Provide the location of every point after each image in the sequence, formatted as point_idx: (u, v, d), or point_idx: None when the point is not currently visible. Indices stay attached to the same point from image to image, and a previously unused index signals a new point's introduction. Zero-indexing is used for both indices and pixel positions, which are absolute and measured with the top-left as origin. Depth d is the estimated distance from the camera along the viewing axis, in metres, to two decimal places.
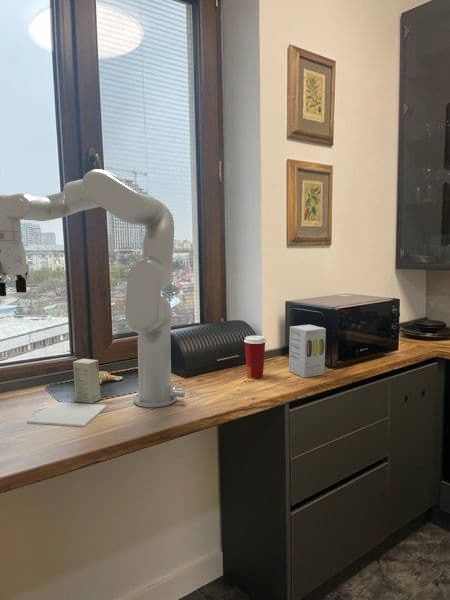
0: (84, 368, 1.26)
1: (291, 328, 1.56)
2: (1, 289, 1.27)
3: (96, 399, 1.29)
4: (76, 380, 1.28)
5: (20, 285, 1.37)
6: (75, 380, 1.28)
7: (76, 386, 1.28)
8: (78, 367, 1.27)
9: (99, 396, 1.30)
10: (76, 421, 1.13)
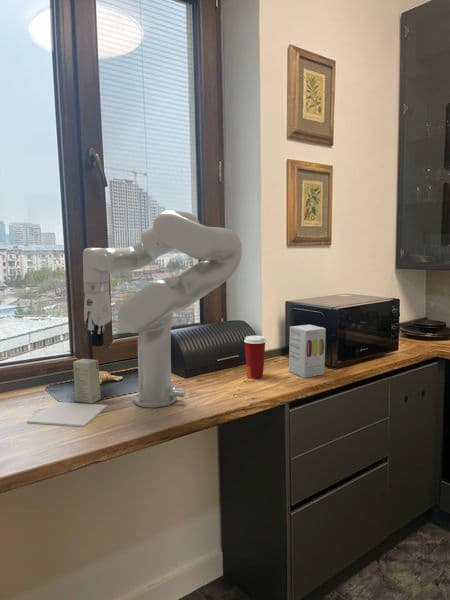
0: (84, 368, 1.26)
1: (291, 328, 1.56)
2: (98, 340, 1.36)
3: (96, 399, 1.29)
4: (76, 380, 1.28)
5: None
6: (75, 380, 1.28)
7: (76, 386, 1.28)
8: (78, 367, 1.27)
9: (99, 396, 1.30)
10: (76, 421, 1.13)
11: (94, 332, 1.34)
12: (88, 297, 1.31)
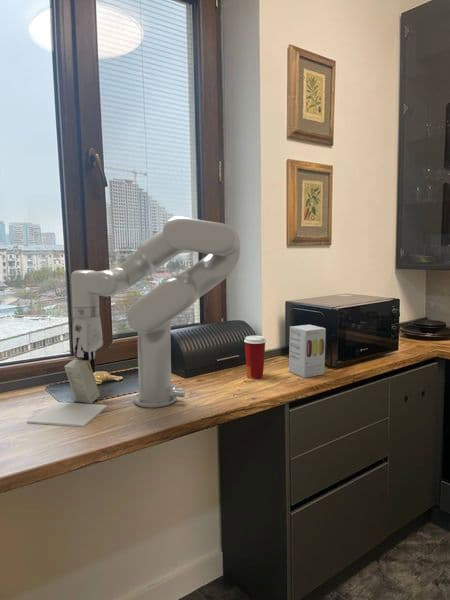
0: (76, 372, 1.24)
1: (291, 328, 1.56)
2: None
3: (95, 397, 1.28)
4: (71, 383, 1.26)
5: None
6: (70, 383, 1.27)
7: (73, 388, 1.27)
8: (70, 371, 1.24)
9: (98, 393, 1.29)
10: (76, 421, 1.13)
11: (84, 359, 1.28)
12: (77, 323, 1.24)
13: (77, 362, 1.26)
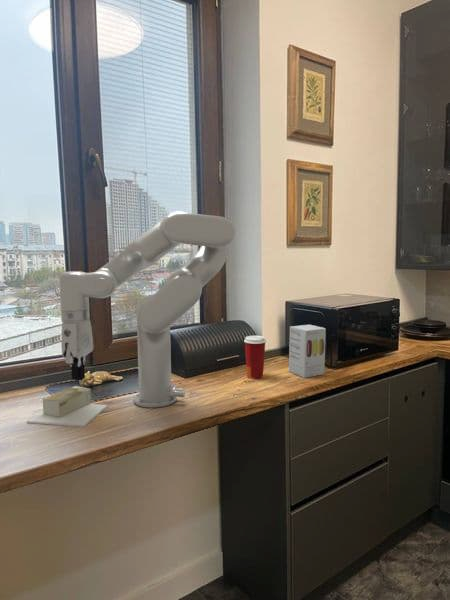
0: None
1: (291, 328, 1.56)
2: (78, 373, 1.23)
3: (89, 396, 1.26)
4: None
5: None
6: None
7: None
8: None
9: (88, 391, 1.25)
10: (76, 421, 1.13)
11: (73, 365, 1.22)
12: (66, 327, 1.18)
13: (50, 406, 1.17)
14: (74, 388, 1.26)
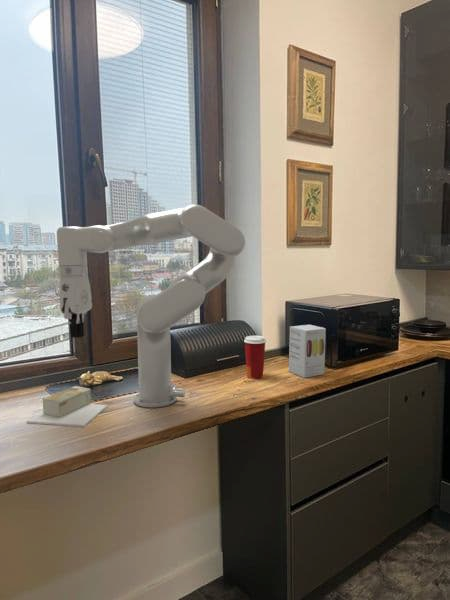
0: None
1: (291, 328, 1.56)
2: (77, 330, 1.21)
3: (89, 396, 1.26)
4: None
5: None
6: None
7: None
8: None
9: (88, 391, 1.25)
10: (76, 421, 1.13)
11: (72, 321, 1.20)
12: (64, 282, 1.16)
13: (50, 406, 1.17)
14: (74, 388, 1.26)
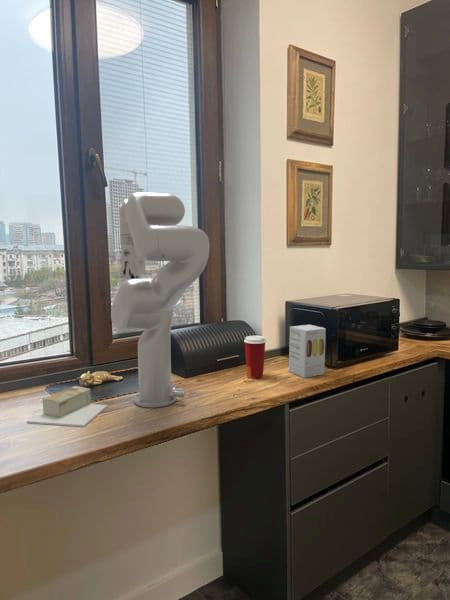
0: None
1: (291, 328, 1.56)
2: None
3: (89, 396, 1.26)
4: None
5: None
6: None
7: None
8: None
9: (88, 391, 1.25)
10: (76, 421, 1.13)
11: None
12: (125, 248, 1.37)
13: (50, 406, 1.17)
14: (74, 388, 1.26)
